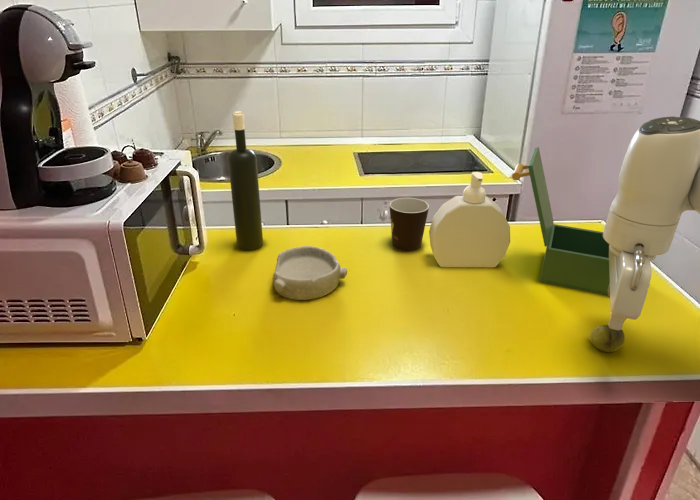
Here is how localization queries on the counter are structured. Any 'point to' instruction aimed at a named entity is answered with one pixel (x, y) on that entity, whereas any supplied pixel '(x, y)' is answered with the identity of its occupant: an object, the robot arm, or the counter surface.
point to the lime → (607, 338)
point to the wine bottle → (245, 190)
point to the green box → (577, 260)
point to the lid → (538, 192)
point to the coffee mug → (408, 222)
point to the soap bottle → (469, 230)
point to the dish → (307, 273)
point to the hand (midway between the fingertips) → (613, 310)
